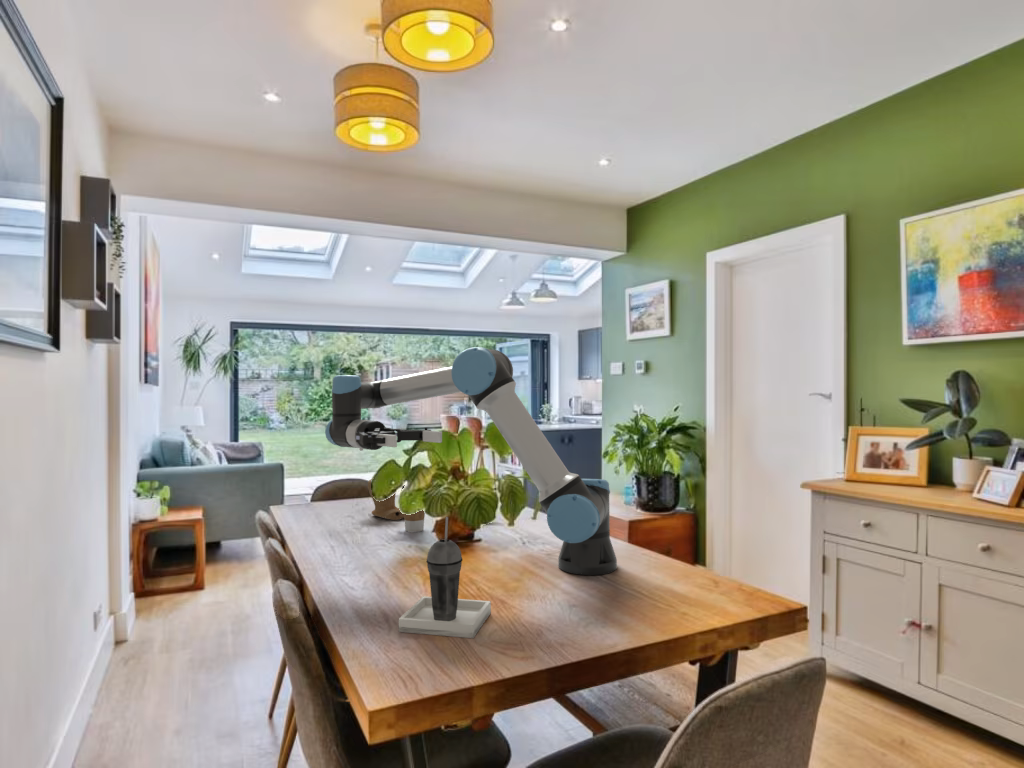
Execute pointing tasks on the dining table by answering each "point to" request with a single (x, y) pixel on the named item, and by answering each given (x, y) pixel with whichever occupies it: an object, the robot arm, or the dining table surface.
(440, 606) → the beverage cup
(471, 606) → the tray
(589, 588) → the dining table surface
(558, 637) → the dining table surface
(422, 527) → the coffee cup
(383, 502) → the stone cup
